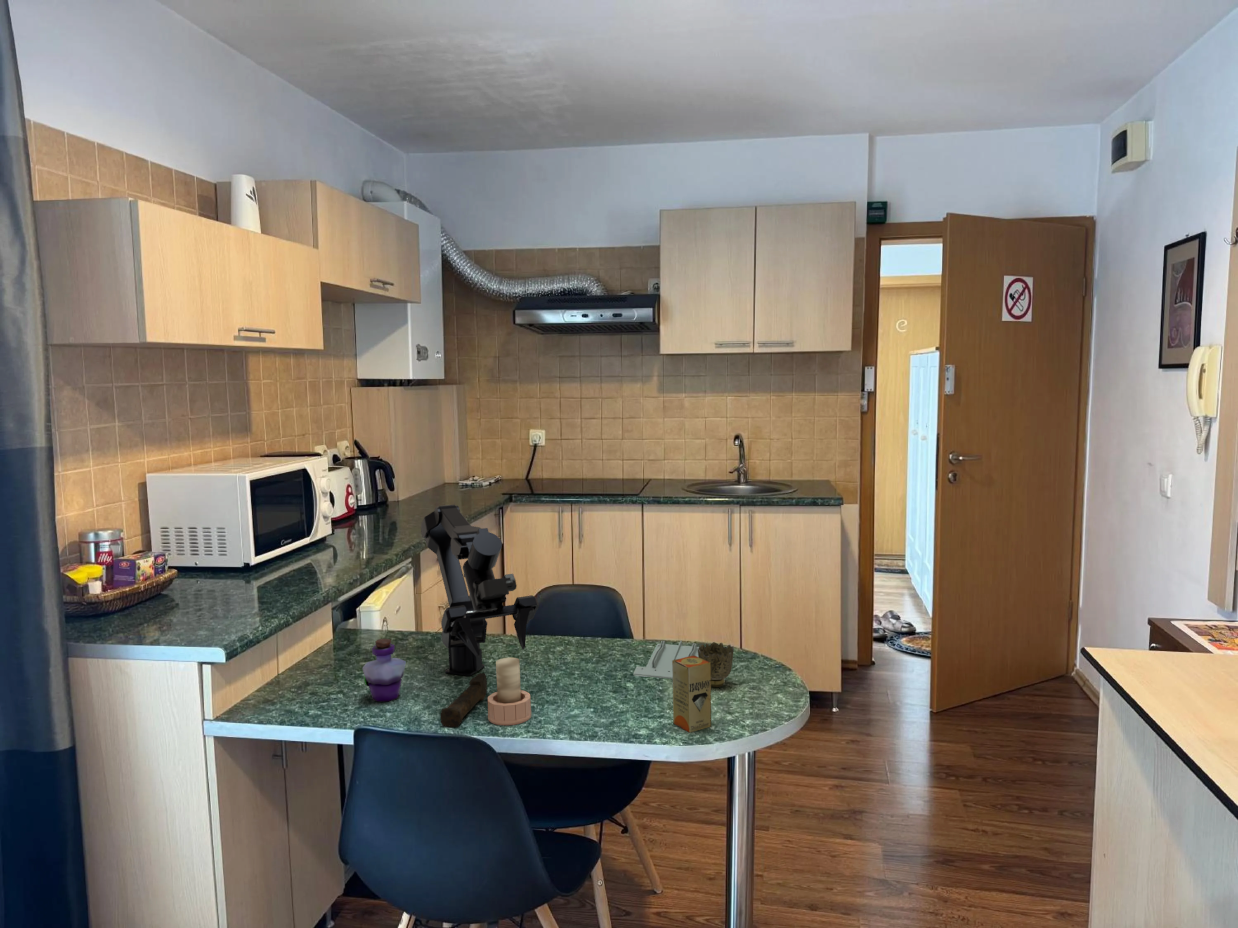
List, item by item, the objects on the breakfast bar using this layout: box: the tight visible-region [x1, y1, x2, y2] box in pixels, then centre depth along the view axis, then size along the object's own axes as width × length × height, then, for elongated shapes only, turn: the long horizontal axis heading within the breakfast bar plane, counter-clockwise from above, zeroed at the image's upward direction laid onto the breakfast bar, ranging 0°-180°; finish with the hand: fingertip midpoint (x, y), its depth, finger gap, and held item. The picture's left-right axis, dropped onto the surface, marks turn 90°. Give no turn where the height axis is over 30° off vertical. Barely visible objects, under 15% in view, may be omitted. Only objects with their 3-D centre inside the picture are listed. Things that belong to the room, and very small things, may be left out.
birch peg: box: [495, 657, 522, 704], centre depth 161 cm, size 4×4×10 cm
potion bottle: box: [362, 638, 407, 703], centre depth 172 cm, size 9×9×12 cm
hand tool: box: [439, 672, 488, 728], centre depth 166 cm, size 19×4×5 cm, turn 166°
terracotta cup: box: [487, 689, 532, 726], centre depth 161 cm, size 8×8×4 cm
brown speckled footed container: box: [698, 641, 735, 688], centre depth 175 cm, size 8×7×8 cm
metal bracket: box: [633, 639, 699, 680], centre depth 185 cm, size 14×6×15 cm
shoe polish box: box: [672, 655, 712, 733], centre depth 155 cm, size 5×5×12 cm
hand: (501, 651), depth 163 cm, fingers open, 9 cm apart
